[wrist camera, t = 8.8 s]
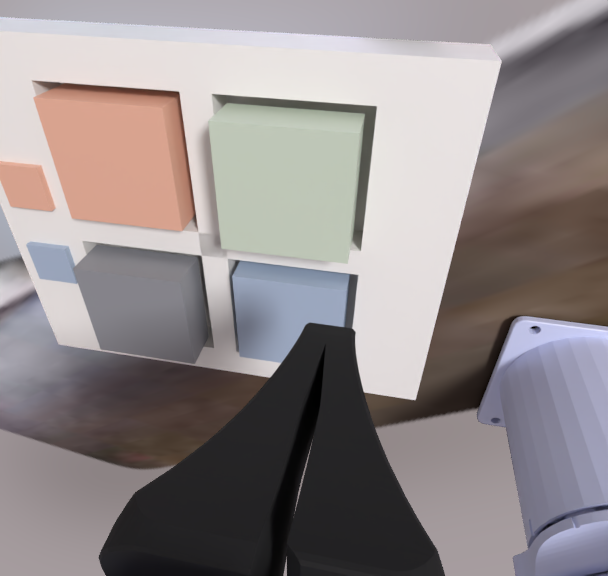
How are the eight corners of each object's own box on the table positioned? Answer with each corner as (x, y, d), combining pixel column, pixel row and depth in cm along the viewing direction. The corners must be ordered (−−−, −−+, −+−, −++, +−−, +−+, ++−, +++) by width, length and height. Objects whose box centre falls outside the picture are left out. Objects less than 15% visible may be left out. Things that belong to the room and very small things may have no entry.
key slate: (351, 264, 21) (346, 290, 20) (343, 343, 24) (338, 371, 23) (245, 251, 22) (232, 276, 21) (250, 329, 25) (239, 356, 24)
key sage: (364, 113, 16) (359, 133, 15) (353, 236, 19) (347, 263, 18) (226, 102, 17) (208, 120, 16) (236, 223, 20) (221, 248, 19)
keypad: (490, 44, 16) (503, 63, 14) (415, 363, 26) (415, 404, 24) (-22, 15, 19) (-81, 27, 17) (83, 315, 29) (55, 348, 27)
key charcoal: (197, 257, 22) (180, 282, 20) (208, 336, 25) (194, 364, 23) (96, 244, 22) (72, 268, 21) (119, 323, 25) (100, 349, 24)
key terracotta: (184, 92, 18) (162, 107, 16) (199, 208, 21) (182, 231, 20) (64, 83, 19) (33, 97, 17) (96, 197, 22) (71, 218, 20)
